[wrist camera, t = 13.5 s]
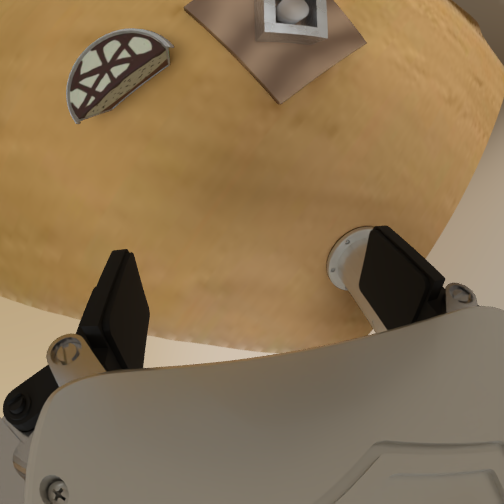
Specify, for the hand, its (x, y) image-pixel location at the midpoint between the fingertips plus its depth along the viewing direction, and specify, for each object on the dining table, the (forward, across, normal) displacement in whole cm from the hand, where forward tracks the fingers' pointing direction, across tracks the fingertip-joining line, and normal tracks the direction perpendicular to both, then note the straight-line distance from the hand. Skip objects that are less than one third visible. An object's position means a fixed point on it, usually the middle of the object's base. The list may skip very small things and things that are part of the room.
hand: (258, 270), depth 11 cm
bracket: (+27, -8, -19) cm, 34 cm away
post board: (+28, -8, -17) cm, 34 cm away
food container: (+28, +11, -12) cm, 33 cm away
